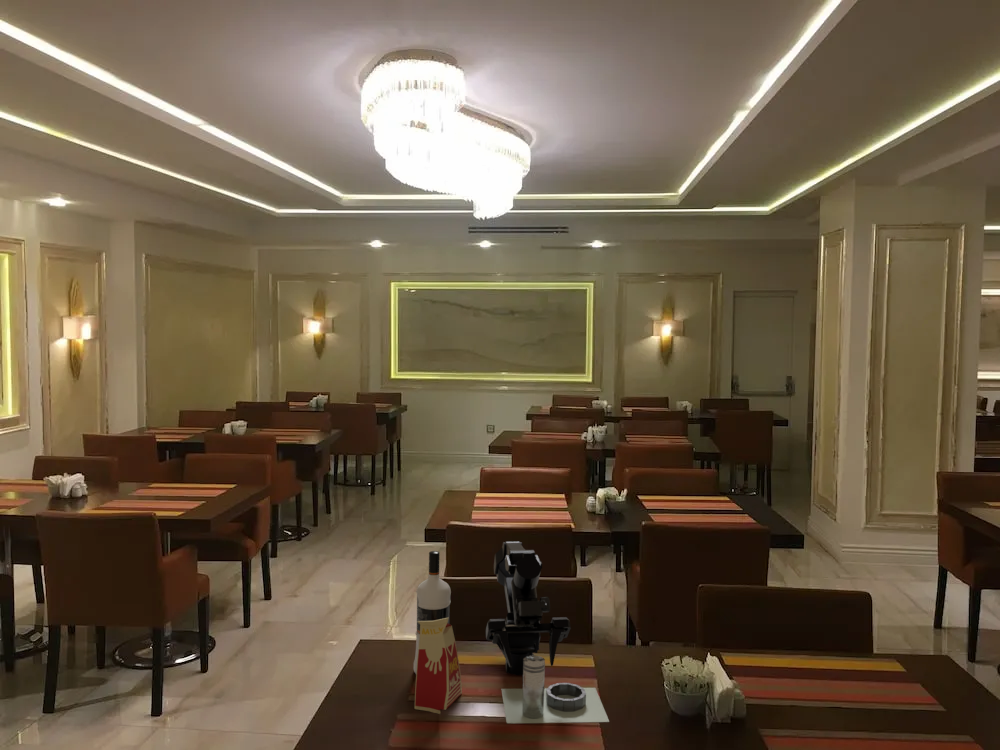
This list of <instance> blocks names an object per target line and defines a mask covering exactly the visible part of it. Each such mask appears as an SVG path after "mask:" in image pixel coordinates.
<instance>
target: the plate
mask: <svg viewBox="0 0 1000 750" xmlns="http://www.w3.org/2000/svg"><path fill="white" fill-rule="evenodd" d="M547 688H548V687H544V712H543V716H542V717H541V718H538V719H529V718H526V717H524V716H523V715H522V702H523V688H501V689H500V690H501V695H502V696H501V697H502V702H503V703H502V704H503V709H504V716H505V722H506V724H509V725H511V724H555V723H557V724H559V723H560V724H561V723H562V724H563V723H564V724H565V723H567V724H569V723H571V724H572V723H610V720H609V717H608V715H607V712H606V710H605V708H604V705H603V703H602V700H601V698H600V696H599V694H598V691H597V688H596V687H583V688H584V689H585V692H586V705H585V706H584V707H583V709H580V710H577V711H574V712H563V711H559V710H555V709H553V708H551V707H550V706H548V705H547V702H546V689H547ZM556 697H559V698H563V699H574V698H576V697H574V696H570V695H558V696H556Z"/></svg>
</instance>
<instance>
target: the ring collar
mask: <svg viewBox="0 0 1000 750" xmlns="http://www.w3.org/2000/svg"><path fill="white" fill-rule="evenodd" d="M546 688H547V689H546V702H547V705H548V706H550V707H551V708H553V709H555V710H559V711H563V712H574V711H577V710H580V709H583V707H584V706H585V705H586V692H585V689H584V688H585V687H583V686H581V685H579V684H574V683H572V682H557V683H554V684H550V685H548V687H546ZM558 695H570V696H574V697H576V698H574V699H563V698H559V697H556V696H558Z"/></svg>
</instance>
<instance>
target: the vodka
mask: <svg viewBox="0 0 1000 750" xmlns="http://www.w3.org/2000/svg"><path fill="white" fill-rule="evenodd" d="M440 555H441V554H440V551H439V550H438V551H437V550H432V551H429V553H428V578H426V579H425V580H423V581H421V583H419V584H418V586H417V587H416V591H415V593H416V631H415V636H416V637H415V640H416V643H415V654H414V660H413V664H412V665H413V671H414V673H415V674H416V672H417V659H418V649H419V640H420V624H419V623H418V622H417V621H434V620H439V619H444V618H448V617H449V618H448V624H450V607H451V606H450V605H451V593H452V591H451V587H450V585H449V583H447V582H446V581H444V580H443V579H441V578H440Z"/></svg>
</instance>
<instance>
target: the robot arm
mask: <svg viewBox="0 0 1000 750" xmlns="http://www.w3.org/2000/svg"><path fill="white" fill-rule="evenodd" d="M542 569H543V563H542V561H541V560H540V557H539V556H538V554H536V551H535V550H534V549H525V548H524V547H523V542H521V541H518V540H517V541H513V540H512V541H509V540H508V541H505V542H504V541H503V542H502V546H501V548H500V549H499V550H498V551H497V552H496V553H495V554H494V560H493V574H494V575H495V576H496V580H497V582H498V584H500V585H501V586H503V587H504V594H505V600H506V607H507V614H506V618H490V619H489V620H488V621H486V622H487V623H486V627H485V638H486V639H485V640H486V641H490V642H492V644H493V645H494V644H495V645H497V647H498V648H499V650H500V652H502V655H503V656H504V659H505V671H506V674H511V675H515V676H523V659H524V658H525V657H527V656H532V655H535V654H538V652H539V650H540V641H541V633H549V639H548V645H549V647H548V648H549V650H548V651H549V664H550V666H551V667H553V666H554V662H555V657H556V651H557V646H558V644H559V643H561V642H563V639H566V638H568V635H569V633H570V630H571V629H572V627H571V621H570V619H569V618H568V617H566V616H565V617H564V616H563V617H560V616H559V617H551V620H550V623H549V622H547V623H546V622H545V623H543V622H542V623H540V622H541V621H542V619H543V613H549V612H550V611H551V603H550V597H549V596H543V597H542V596H541V597H540V598H539V600H538V594H537V587H538V583H539V580H540V575H541V572H542Z"/></svg>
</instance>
